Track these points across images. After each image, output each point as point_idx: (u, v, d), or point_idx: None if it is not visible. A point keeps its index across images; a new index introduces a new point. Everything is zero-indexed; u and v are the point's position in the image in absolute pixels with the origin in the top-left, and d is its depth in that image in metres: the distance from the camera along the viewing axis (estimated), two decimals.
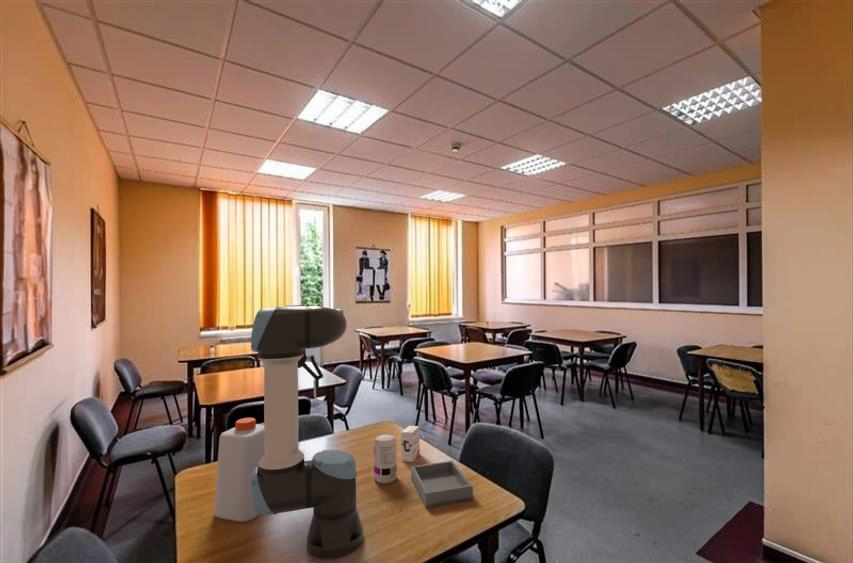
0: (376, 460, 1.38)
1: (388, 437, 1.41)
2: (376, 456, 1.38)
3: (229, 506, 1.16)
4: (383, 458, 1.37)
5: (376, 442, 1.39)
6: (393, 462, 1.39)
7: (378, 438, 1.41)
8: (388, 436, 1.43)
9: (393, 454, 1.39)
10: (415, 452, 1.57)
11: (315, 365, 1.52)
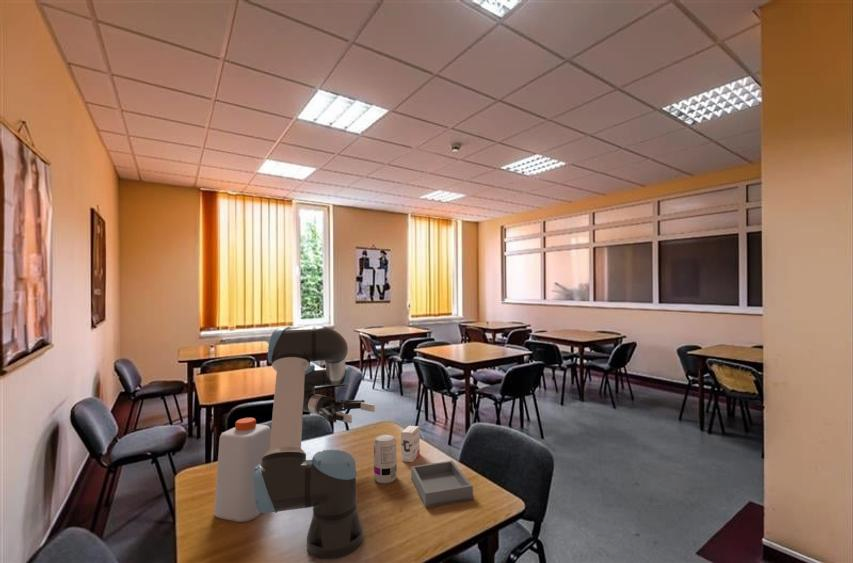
0: (376, 460, 1.38)
1: (388, 437, 1.41)
2: (376, 456, 1.38)
3: (229, 506, 1.16)
4: (383, 458, 1.37)
5: (376, 442, 1.39)
6: (393, 462, 1.39)
7: (378, 438, 1.41)
8: (388, 436, 1.43)
9: (393, 454, 1.39)
10: (415, 452, 1.57)
11: (351, 400, 1.59)
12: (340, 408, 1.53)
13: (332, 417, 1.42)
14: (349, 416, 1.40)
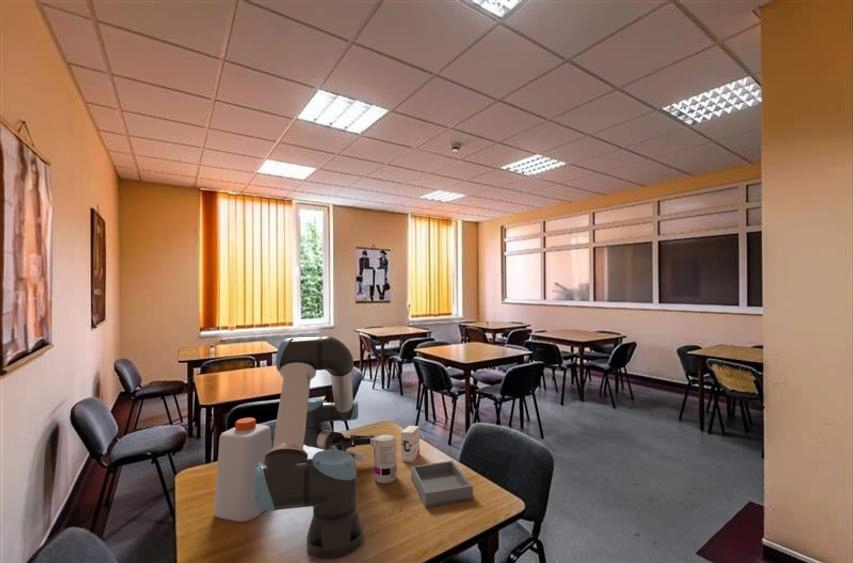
0: (376, 460, 1.38)
1: (388, 437, 1.41)
2: (376, 456, 1.38)
3: (229, 506, 1.16)
4: (383, 458, 1.37)
5: (376, 442, 1.39)
6: (393, 462, 1.39)
7: (378, 438, 1.41)
8: (388, 436, 1.43)
9: (393, 454, 1.39)
10: (415, 452, 1.57)
11: (360, 435, 1.57)
12: (350, 445, 1.51)
13: None
14: (360, 455, 1.38)
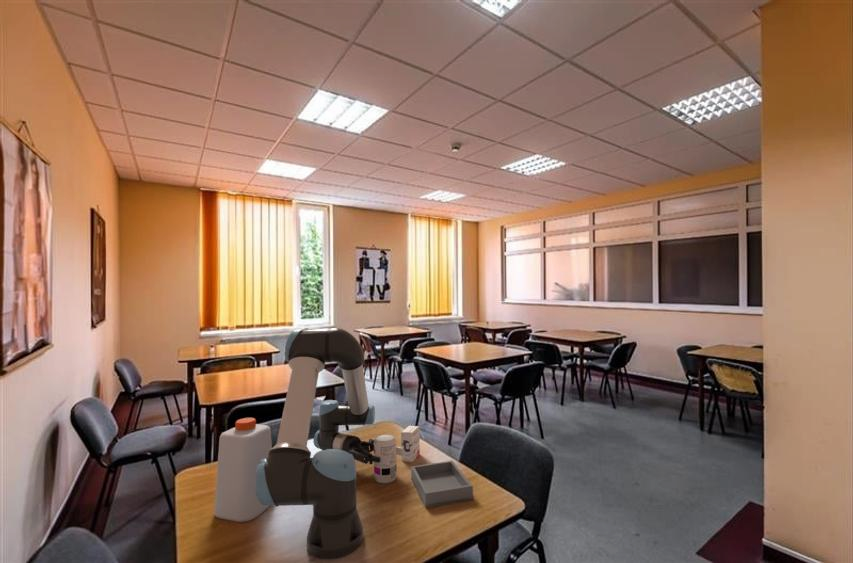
0: None
1: (388, 437, 1.41)
2: None
3: (229, 506, 1.16)
4: None
5: (376, 442, 1.39)
6: (393, 462, 1.39)
7: (378, 438, 1.41)
8: (388, 436, 1.43)
9: (393, 454, 1.39)
10: (415, 452, 1.57)
11: None
12: (367, 449, 1.46)
13: (368, 459, 1.36)
14: (387, 458, 1.35)
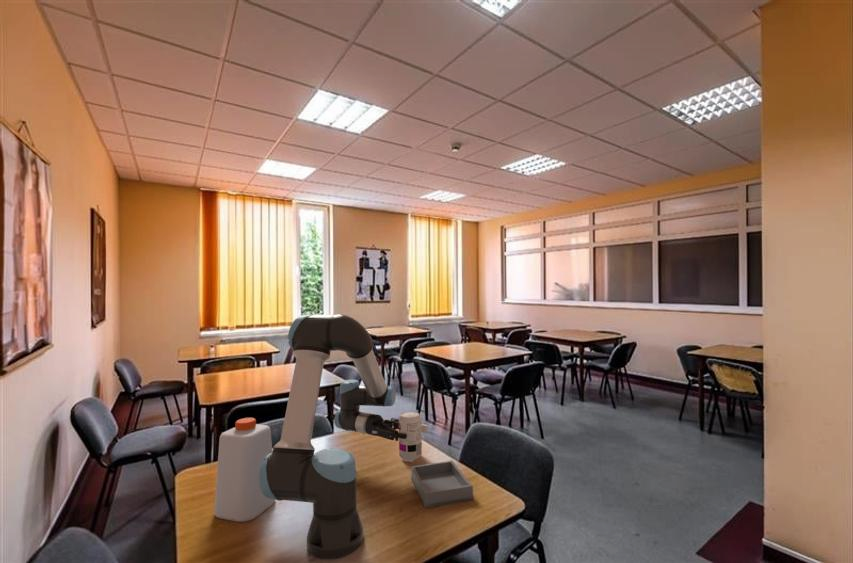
0: None
1: (413, 414, 1.40)
2: None
3: (229, 506, 1.16)
4: None
5: (402, 419, 1.37)
6: (419, 439, 1.37)
7: (403, 415, 1.40)
8: (413, 413, 1.41)
9: (419, 431, 1.38)
10: None
11: None
12: (390, 427, 1.44)
13: (395, 435, 1.35)
14: (413, 434, 1.34)
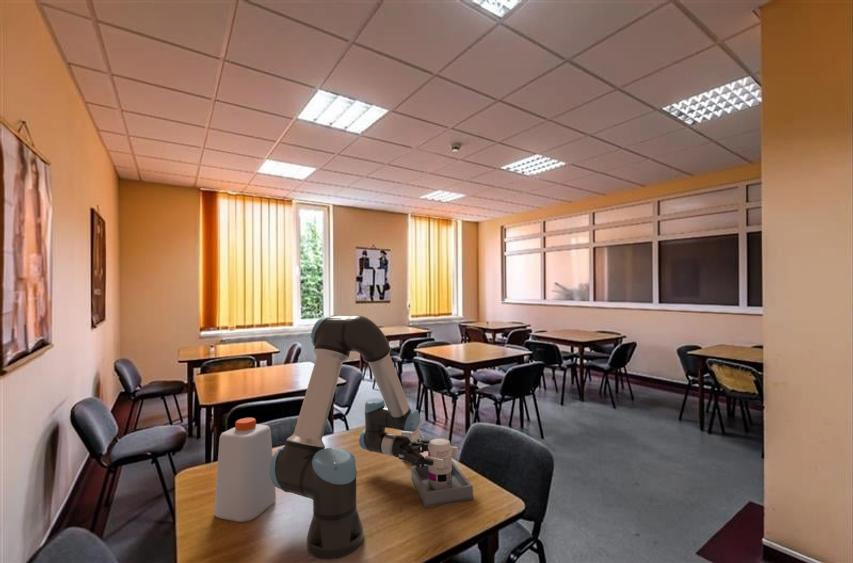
0: None
1: (443, 441, 1.34)
2: None
3: (229, 506, 1.16)
4: None
5: (431, 446, 1.31)
6: (449, 468, 1.31)
7: (433, 442, 1.33)
8: (442, 440, 1.35)
9: (449, 459, 1.31)
10: None
11: (427, 440, 1.43)
12: (418, 450, 1.38)
13: (421, 461, 1.28)
14: (441, 461, 1.26)
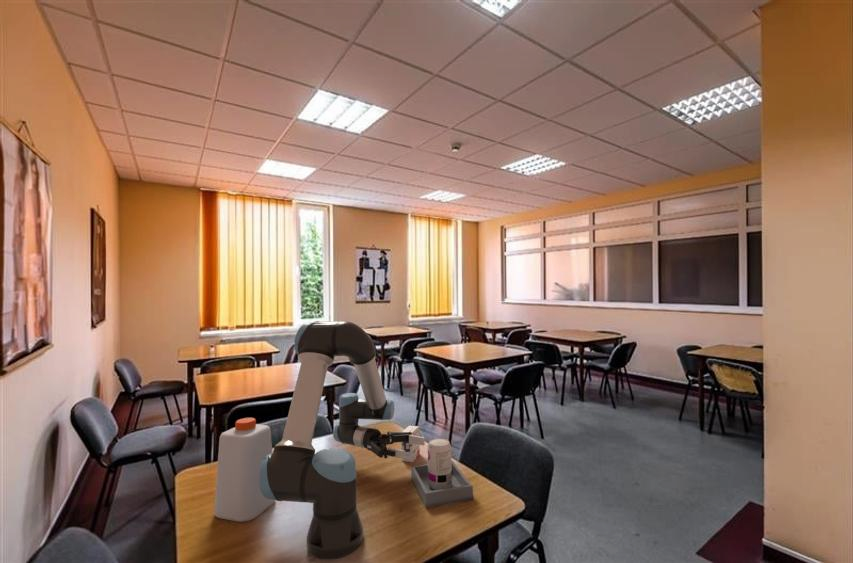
0: (431, 466, 1.30)
1: (442, 442, 1.33)
2: (431, 462, 1.30)
3: (229, 506, 1.16)
4: (438, 464, 1.29)
5: (431, 447, 1.31)
6: (449, 468, 1.31)
7: (432, 443, 1.33)
8: (442, 441, 1.35)
9: (449, 460, 1.31)
10: (415, 452, 1.57)
11: (397, 432, 1.51)
12: (388, 441, 1.45)
13: (383, 453, 1.34)
14: (402, 452, 1.32)
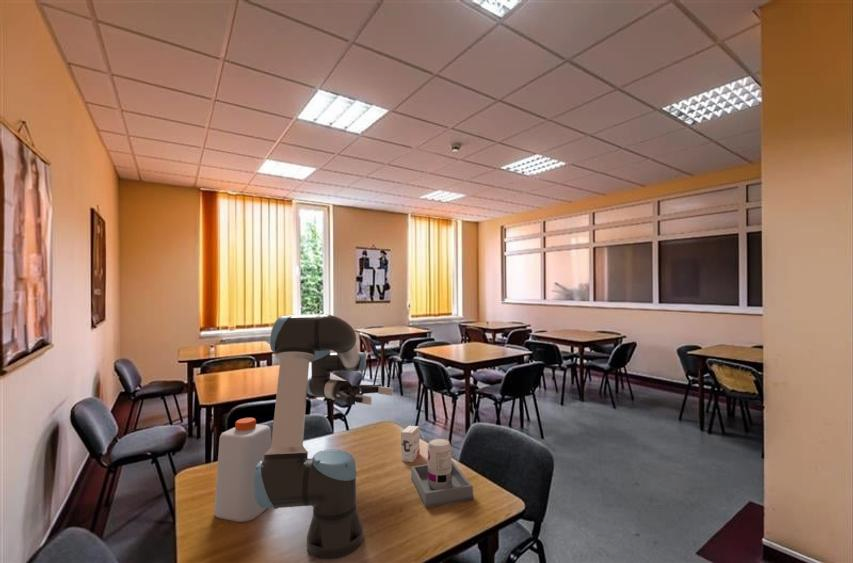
0: (431, 466, 1.30)
1: (442, 442, 1.33)
2: (431, 462, 1.30)
3: (229, 506, 1.16)
4: (438, 464, 1.29)
5: (431, 447, 1.31)
6: (449, 468, 1.31)
7: (432, 443, 1.33)
8: (442, 441, 1.35)
9: (449, 460, 1.31)
10: (415, 452, 1.57)
11: (368, 385, 1.55)
12: (357, 392, 1.49)
13: (351, 399, 1.38)
14: (369, 397, 1.36)
